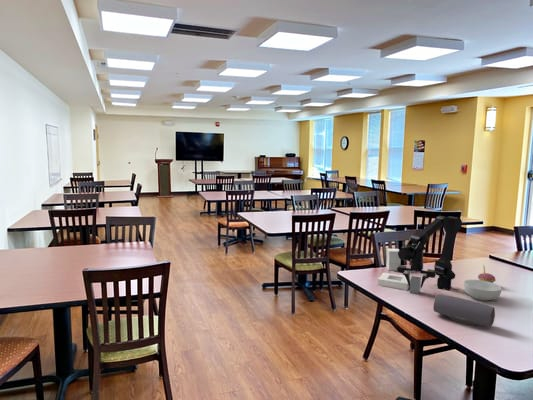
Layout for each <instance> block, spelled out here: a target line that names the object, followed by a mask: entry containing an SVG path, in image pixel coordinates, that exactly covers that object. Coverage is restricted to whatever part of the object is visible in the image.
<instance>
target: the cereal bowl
mask: <svg viewBox="0 0 533 400" xmlns="http://www.w3.org/2000/svg"><path fill="white" fill-rule="evenodd" d="M463 288H464V289H463V290H464V291H465V292H466V293H467V295H469V296H471V297H472V298H473V299H475V300H478V301H483V302H484V301H485V302H486V301H488V302H489V301H490V300H495V299H498V298H499V297H500V296H501V293H502V290H503V289H502V286H500V285H499V284H497V283H495V282H493V283H491V282H487V281H482V280H479V279H467V280H464V283H463Z"/></svg>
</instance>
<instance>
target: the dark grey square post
mask: <svg viewBox="0 0 533 400" xmlns="http://www.w3.org/2000/svg"><path fill="white" fill-rule="evenodd" d="M410 277H411V280H410V287H409V293H410V294H416V295H419V294H420V293H421V281H422V277H421V276H417V275H416V276H415V275H412V276H410Z"/></svg>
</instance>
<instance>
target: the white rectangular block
mask: <svg viewBox="0 0 533 400" xmlns="http://www.w3.org/2000/svg"><path fill="white" fill-rule="evenodd" d="M399 250H400V249H399V248H387V249H386V261H385V263H386V269H387V270H388V271H396V272H397V268H398V266H399V265H402V264H401V263H402V262H401V261H402V260H401V259H400V258H399V256H398V252H399Z"/></svg>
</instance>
